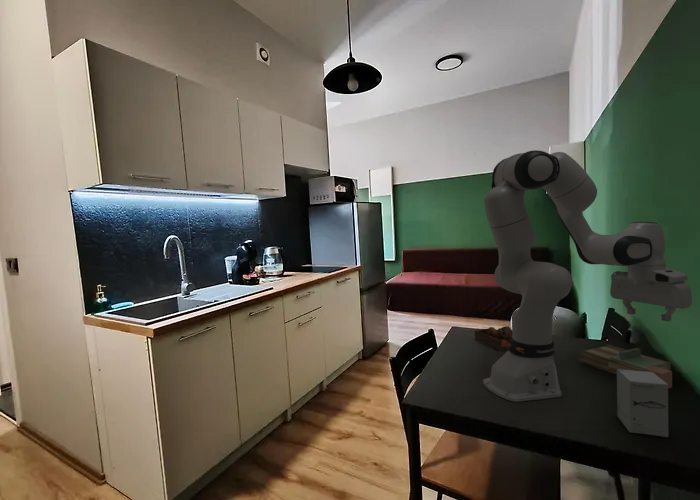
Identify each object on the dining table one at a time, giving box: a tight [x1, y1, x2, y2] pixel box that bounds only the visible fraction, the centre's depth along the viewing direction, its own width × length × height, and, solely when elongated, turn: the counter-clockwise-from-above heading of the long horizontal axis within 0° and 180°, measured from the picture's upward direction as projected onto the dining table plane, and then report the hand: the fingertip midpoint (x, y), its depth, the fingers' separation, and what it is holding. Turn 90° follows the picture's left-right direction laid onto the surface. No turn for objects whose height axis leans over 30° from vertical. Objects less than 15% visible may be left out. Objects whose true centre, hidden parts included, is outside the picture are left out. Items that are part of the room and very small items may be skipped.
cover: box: [610, 347, 667, 371], centre depth 106 cm, size 10×10×3 cm
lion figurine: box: [487, 325, 512, 340], centre depth 139 cm, size 15×5×9 cm, turn 26°
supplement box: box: [616, 369, 669, 438], centre depth 78 cm, size 7×7×13 cm
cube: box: [644, 366, 673, 390], centre depth 97 cm, size 4×4×5 cm
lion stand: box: [474, 327, 512, 353], centre depth 140 cm, size 8×16×4 cm, turn 16°
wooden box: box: [579, 343, 672, 376], centre depth 111 cm, size 14×19×4 cm
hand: (648, 317), depth 102 cm, fingers open, 8 cm apart
